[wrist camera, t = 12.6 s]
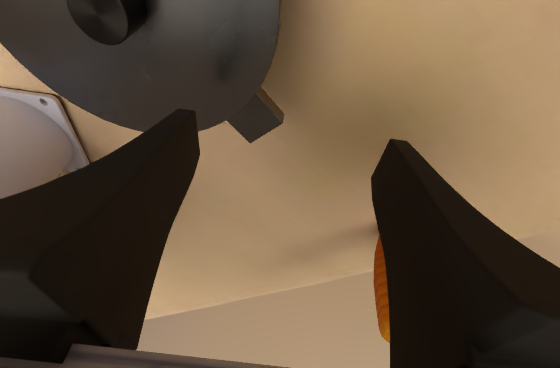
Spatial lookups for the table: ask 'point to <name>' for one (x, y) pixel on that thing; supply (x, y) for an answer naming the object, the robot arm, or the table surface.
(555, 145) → the table surface
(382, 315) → the carrot
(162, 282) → the table surface
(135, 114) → the pot lid
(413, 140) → the table surface
